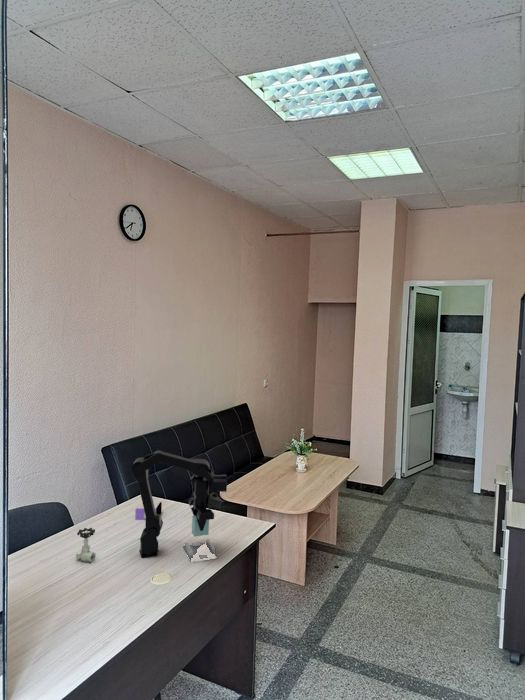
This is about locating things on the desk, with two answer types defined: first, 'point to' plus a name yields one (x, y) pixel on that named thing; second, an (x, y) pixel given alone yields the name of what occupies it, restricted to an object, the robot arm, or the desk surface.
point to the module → (196, 528)
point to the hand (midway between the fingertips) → (200, 528)
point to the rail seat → (193, 548)
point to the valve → (85, 546)
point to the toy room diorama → (141, 513)
